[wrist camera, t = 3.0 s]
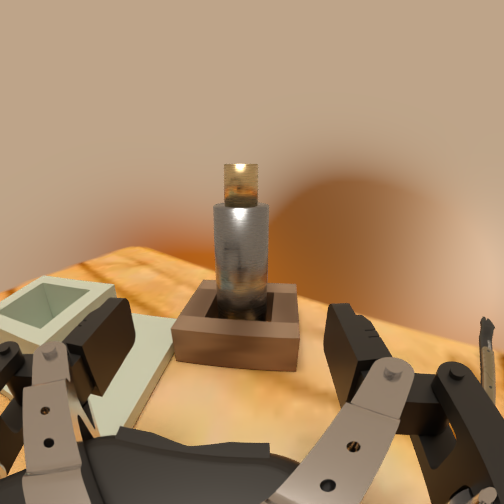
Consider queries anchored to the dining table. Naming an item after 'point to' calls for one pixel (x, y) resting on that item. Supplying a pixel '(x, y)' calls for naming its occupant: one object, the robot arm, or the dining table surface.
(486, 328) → the dark long narrow piece
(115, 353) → the robot arm
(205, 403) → the dining table surface
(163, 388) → the dining table surface
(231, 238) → the stepped metal cylinder
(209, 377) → the dining table surface
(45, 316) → the board
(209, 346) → the socket block
